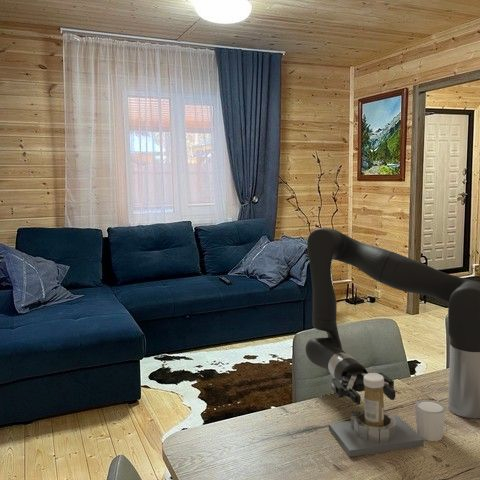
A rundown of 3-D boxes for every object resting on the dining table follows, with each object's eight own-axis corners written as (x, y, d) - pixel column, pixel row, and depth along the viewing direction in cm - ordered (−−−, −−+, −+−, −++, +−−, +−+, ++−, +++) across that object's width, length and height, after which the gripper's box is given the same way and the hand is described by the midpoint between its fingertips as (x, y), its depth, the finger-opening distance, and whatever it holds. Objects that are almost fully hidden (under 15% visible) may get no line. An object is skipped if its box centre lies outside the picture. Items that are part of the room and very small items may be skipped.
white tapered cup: (445, 430, 115) (446, 402, 114) (444, 444, 109) (445, 415, 108) (415, 424, 118) (416, 397, 117) (412, 438, 112) (413, 410, 111)
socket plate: (396, 420, 121) (396, 414, 120) (424, 445, 109) (424, 439, 109) (328, 429, 117) (328, 423, 117) (349, 456, 105) (349, 450, 105)
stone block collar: (383, 418, 118) (383, 407, 118) (403, 439, 109) (403, 426, 109) (347, 423, 117) (347, 411, 116) (365, 444, 107) (365, 432, 107)
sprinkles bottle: (388, 431, 112) (388, 376, 110) (375, 438, 110) (374, 382, 108) (373, 423, 116) (372, 370, 114) (360, 429, 114) (359, 375, 112)
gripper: (321, 360, 125) (347, 386, 109) (372, 354, 128) (404, 379, 112) (321, 387, 126) (347, 417, 110) (372, 381, 129) (404, 409, 113)
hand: (376, 398), depth 111 cm, fingers open, 8 cm apart
